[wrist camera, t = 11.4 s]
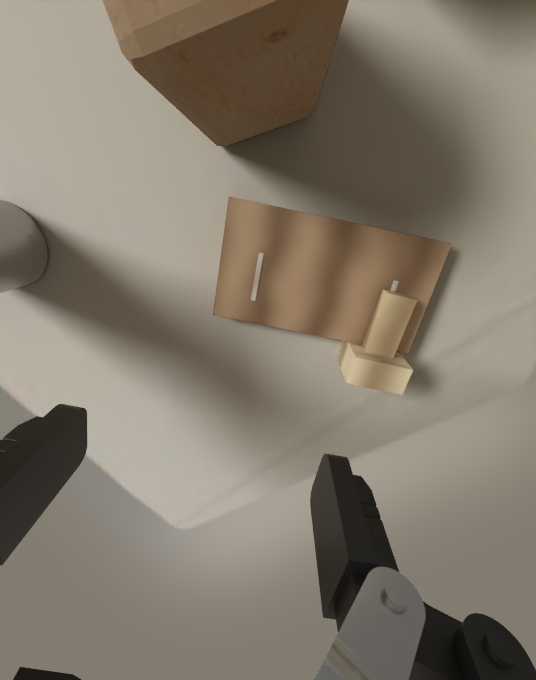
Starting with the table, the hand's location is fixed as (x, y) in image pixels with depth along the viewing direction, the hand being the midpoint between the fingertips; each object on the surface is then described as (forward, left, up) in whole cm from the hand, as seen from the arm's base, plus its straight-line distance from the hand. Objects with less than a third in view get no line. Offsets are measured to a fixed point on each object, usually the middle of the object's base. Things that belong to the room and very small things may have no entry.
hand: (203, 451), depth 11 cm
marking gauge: (+14, -2, -27) cm, 31 cm away
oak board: (+7, +2, -27) cm, 28 cm away
